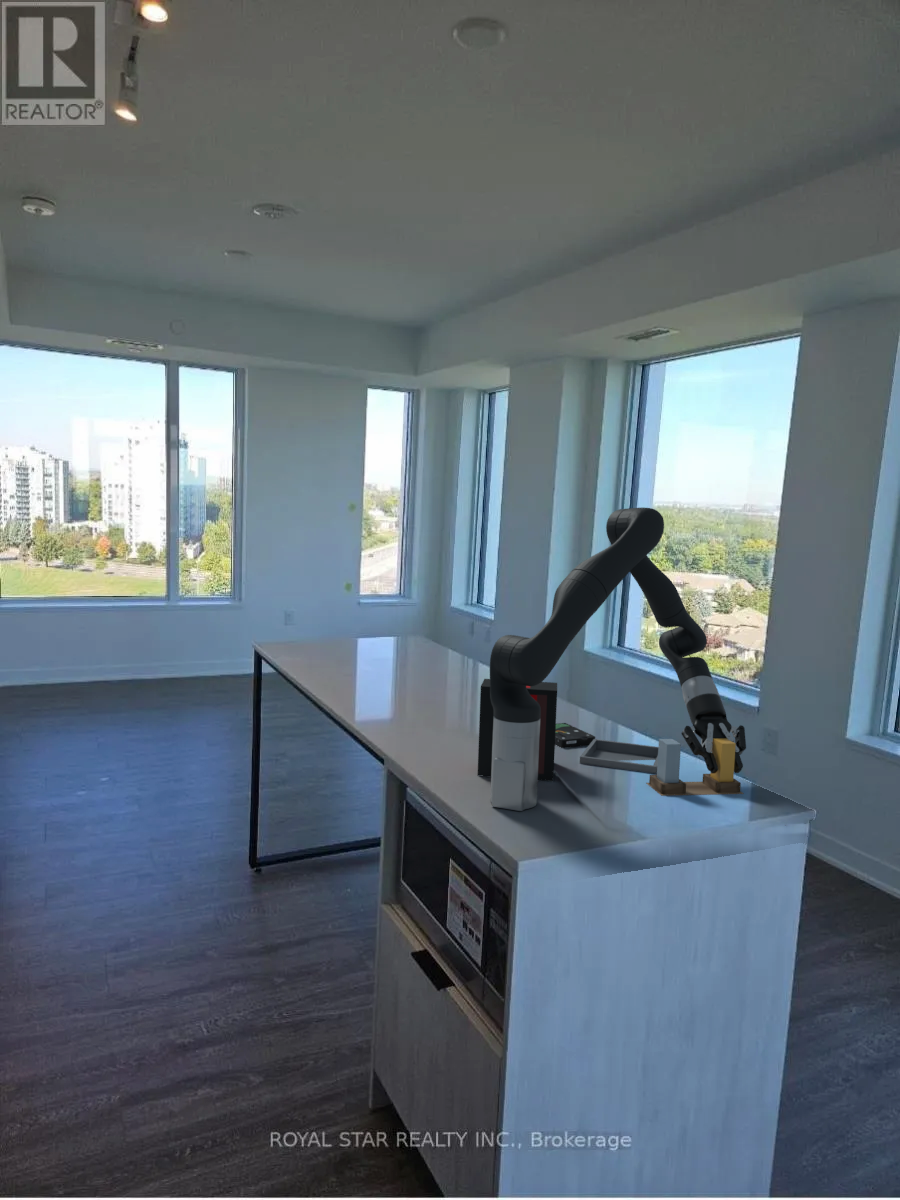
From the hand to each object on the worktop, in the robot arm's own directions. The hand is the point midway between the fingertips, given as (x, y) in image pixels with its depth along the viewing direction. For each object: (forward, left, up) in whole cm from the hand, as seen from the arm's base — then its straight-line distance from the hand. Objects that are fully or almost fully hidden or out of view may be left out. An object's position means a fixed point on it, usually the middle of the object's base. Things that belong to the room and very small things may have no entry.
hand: (726, 771), depth 161 cm
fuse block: (-1, +6, -6) cm, 8 cm away
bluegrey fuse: (-4, +11, -4) cm, 13 cm away
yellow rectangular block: (+2, +1, -4) cm, 4 cm away
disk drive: (+30, +41, -6) cm, 51 cm away
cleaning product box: (-3, +44, -6) cm, 45 cm away
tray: (+14, +23, -6) cm, 27 cm away
